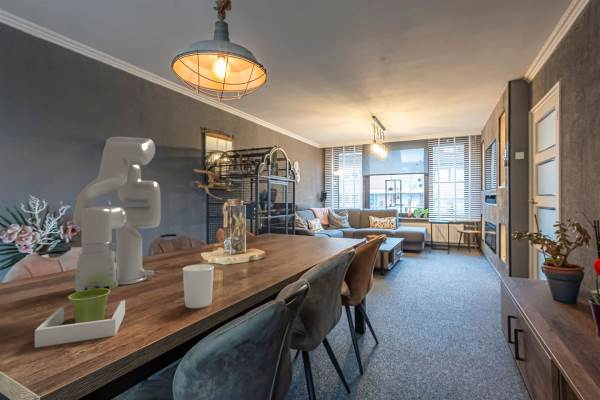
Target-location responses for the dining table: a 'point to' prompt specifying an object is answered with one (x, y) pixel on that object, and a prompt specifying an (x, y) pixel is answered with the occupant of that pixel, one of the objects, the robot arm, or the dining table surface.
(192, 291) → the candle holder
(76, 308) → the plant pot
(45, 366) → the dining table surface
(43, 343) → the box
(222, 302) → the dining table surface
